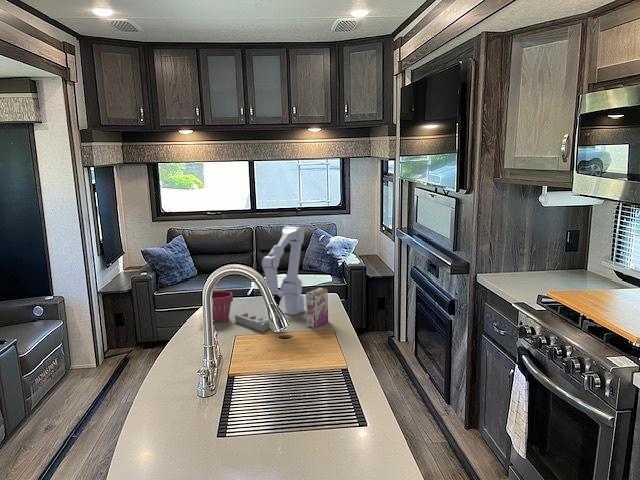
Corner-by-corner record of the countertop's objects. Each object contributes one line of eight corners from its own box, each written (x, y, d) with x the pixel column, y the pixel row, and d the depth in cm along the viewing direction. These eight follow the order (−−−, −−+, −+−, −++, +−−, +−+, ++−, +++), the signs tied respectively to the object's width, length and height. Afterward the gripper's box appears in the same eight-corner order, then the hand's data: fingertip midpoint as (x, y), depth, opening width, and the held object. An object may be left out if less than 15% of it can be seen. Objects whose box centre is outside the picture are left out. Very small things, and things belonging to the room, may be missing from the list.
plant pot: (238, 315, 242) (236, 290, 240) (227, 324, 229) (225, 298, 227) (212, 314, 246) (210, 290, 243) (200, 323, 232) (197, 298, 230)
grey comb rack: (245, 318, 236) (244, 310, 235) (273, 328, 220) (272, 320, 220) (235, 321, 232) (234, 313, 231) (262, 332, 216) (262, 323, 215)
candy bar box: (315, 328, 218) (313, 294, 215) (306, 326, 221) (305, 292, 218) (329, 321, 227) (327, 288, 224) (320, 319, 230) (319, 287, 227)
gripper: (255, 280, 226) (257, 307, 228) (274, 285, 216) (276, 314, 218) (267, 277, 231) (268, 304, 233) (286, 282, 220) (287, 310, 223)
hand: (273, 308), depth 226 cm, fingers open, 4 cm apart
